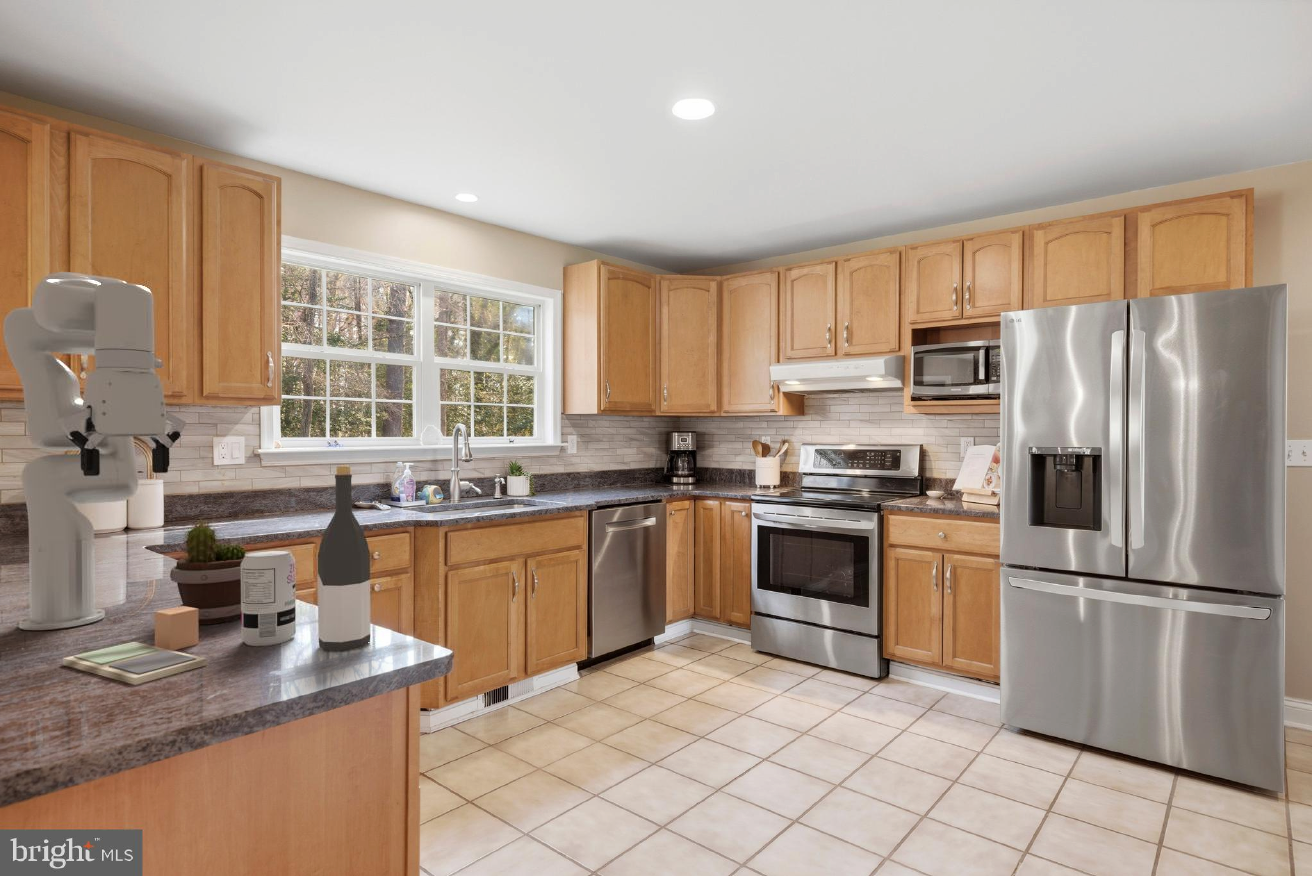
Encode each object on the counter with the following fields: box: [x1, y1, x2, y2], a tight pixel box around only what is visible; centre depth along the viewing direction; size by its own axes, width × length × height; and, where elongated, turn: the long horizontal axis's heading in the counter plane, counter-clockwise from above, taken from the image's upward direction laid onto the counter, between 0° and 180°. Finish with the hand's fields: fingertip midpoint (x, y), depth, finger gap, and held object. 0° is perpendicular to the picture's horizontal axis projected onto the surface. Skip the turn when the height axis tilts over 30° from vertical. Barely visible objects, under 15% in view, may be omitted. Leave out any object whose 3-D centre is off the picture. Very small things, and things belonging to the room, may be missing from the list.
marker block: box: [154, 605, 200, 651], centre depth 123 cm, size 4×4×6 cm
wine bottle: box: [317, 465, 371, 652], centre depth 122 cm, size 8×8×30 cm
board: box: [62, 641, 208, 686], centre depth 112 cm, size 20×10×1 cm, turn 62°
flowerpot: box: [169, 516, 248, 625], centre depth 141 cm, size 14×15×20 cm
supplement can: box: [240, 549, 297, 647], centre depth 125 cm, size 8×8×15 cm
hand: (127, 474), depth 114 cm, fingers open, 9 cm apart
